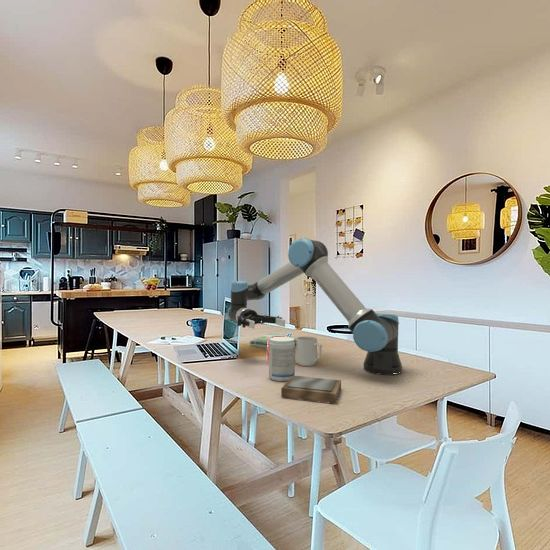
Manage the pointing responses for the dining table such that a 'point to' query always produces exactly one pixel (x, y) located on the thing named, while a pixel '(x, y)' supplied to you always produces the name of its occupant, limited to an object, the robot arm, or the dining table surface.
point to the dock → (311, 389)
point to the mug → (307, 351)
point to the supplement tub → (281, 358)
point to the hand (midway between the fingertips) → (269, 324)
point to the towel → (265, 340)
